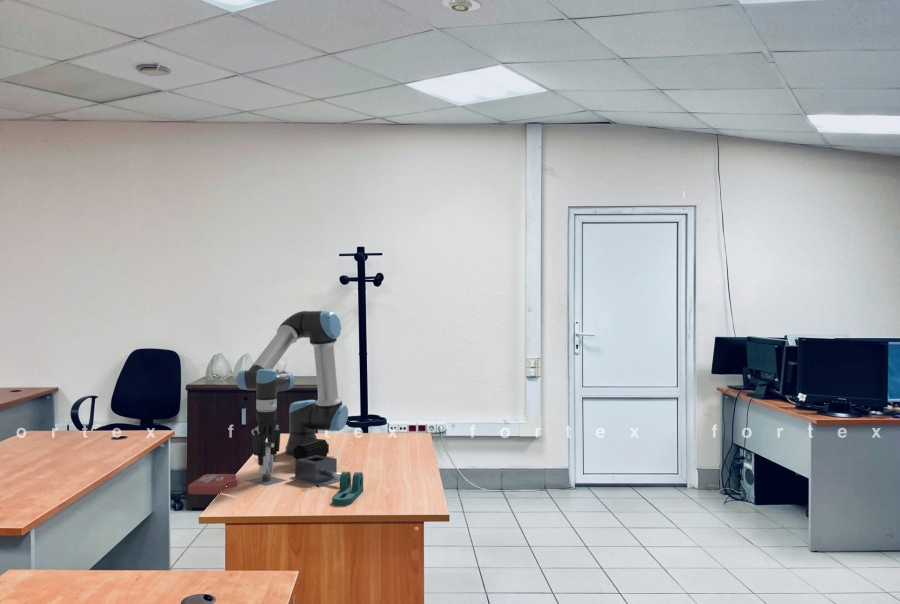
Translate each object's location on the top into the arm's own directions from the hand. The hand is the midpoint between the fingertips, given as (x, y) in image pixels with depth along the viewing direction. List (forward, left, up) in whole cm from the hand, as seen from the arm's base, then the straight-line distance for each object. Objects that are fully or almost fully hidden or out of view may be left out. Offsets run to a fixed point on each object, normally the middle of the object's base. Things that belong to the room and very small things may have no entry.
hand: (266, 472), depth 264 cm
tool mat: (0, 0, -4) cm, 4 cm away
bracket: (+40, +3, -4) cm, 40 cm away
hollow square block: (+16, +13, -4) cm, 21 cm away
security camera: (-5, +29, -4) cm, 29 cm away
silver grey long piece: (0, 0, -3) cm, 3 cm away
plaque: (-8, -16, -4) cm, 19 cm away
